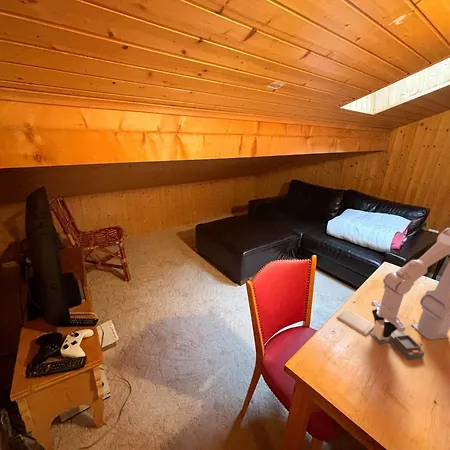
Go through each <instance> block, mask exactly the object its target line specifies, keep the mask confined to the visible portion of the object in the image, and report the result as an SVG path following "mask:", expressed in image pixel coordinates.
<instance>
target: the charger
mask: <svg viewBox="0 0 450 450" xmlns="http://www.w3.org/2000/svg"><path fill="white" fill-rule="evenodd" d="M384 322H388V321H387V320H386V319H384V320H376V322H375V321H374V324H375V325H374V328H373V329H372V333H374V334H375V335H376V337H377V338H378V339H379V340H386V339H388V340H389V338H390V336H389V337H384V336H383V333H384Z"/></svg>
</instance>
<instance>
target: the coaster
mask: <svg viewBox="0 0 450 450" xmlns="http://www.w3.org/2000/svg"><path fill="white" fill-rule="evenodd" d="M369 334H370V335H371V337H372V338H373V340H375V341H376V343H378V345H379V344H389V343H390V344H391V341H390V340H389V339H386V340H379V339H378V338H377V337H376V335H375V334H374V333H373V332H369Z"/></svg>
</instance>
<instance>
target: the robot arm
mask: <svg viewBox="0 0 450 450" xmlns="http://www.w3.org/2000/svg"><path fill="white" fill-rule="evenodd" d="M448 255H450V227H447V228H446V229H444V230H443V231H441V233H440V234H438V236H437V239H436V242H435V244H433V245H432V246H431V248H429V249H428V250H427V251H426V252H425V253H424V254H422V256H420V257H419V258H418V259H411V260H410V261H408V262H407V263H406V264H405V265H403V266H402V267H400V268H399V269H397V271H395V272H389V273H387V274H386V275H385V277H384V278H383V279H382V283H383V284H384V285H383V288H384V292H383V294H382V298H381V301H380V302H379V301H378V300H376V299H375V300H372V301H371V303H370V305H371V306H372V307H375V309H372V310H371V313H372V316H373V319H374V323H375V322H376V320H386V321H387V322H384V333H383V336H384V337H389V336H390V335H391V334H392V333H393V332H396V331H397V332H404V333H405V330H406V328H407V327H406V326H405V325H404V324H403V322H402V321H401V319H400V317H399V316H398V315H399V311H400V307H401V305H402V301H403V298H404V295H405V294H407V293H409V292H410V291H411V289H412V287H414V285H415V282H416V281H418V280H419V279H420V278H422V277H423V276H424V275H426V274H427V273H428V268H429V267H430V266H432V265H434V264H435V263H437V262H438V261H440V260H442V259H443V258H445V257H446V256H448ZM419 304H420V306H421V309H422V311H421V314H420V317H419V320H418V322H417V323H411V326H412V327H413V329H416V331H418V332H419V333H420V335H422V336H423V337H424V338H425V339H426V340H437V339H446V338H449V337H450V336H449V335H448V333H449V330H450V260H449V261H448V263H447V266H446V268H445V269H444V270H443V273H442V275H441V278H440V279H439V281H438V283H437V285H436V288H435V289H429V290H426V292H425V294H424V295H422V296H421V298H420V300H419Z"/></svg>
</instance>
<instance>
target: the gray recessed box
mask: <svg viewBox="0 0 450 450" xmlns="http://www.w3.org/2000/svg"><path fill="white" fill-rule="evenodd" d="M388 340H389V341H390V344H392V345H393V346H394V347H395V348H396V349H397V350H398V351H399V352H400V354H401V355H403V356H404V358H405V359H406V360H407V361H408V360H416V359H417V360H418V359H423V358H424V356H425V351H424V350H422V349H421V348H422V347H421V345H419V344H418V343H417V342H416V341H415V339H413V338H412V336H410V335H409V334H406V333H405V331H404V332H399V331H394V332H393V333H392V334H391V335H390V338H389V339H388Z"/></svg>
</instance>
